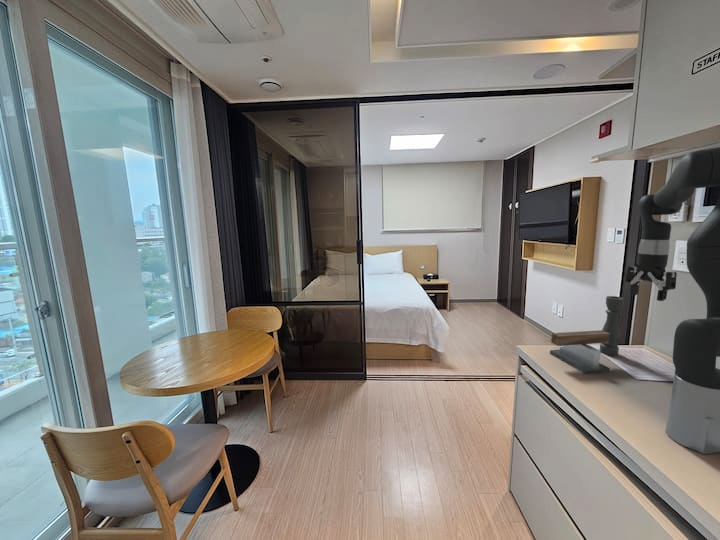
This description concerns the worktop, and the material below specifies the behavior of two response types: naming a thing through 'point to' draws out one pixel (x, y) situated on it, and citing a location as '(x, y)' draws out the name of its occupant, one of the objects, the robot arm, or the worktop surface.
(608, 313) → the candle holder
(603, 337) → the walnut beam
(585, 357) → the stand
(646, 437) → the worktop surface
